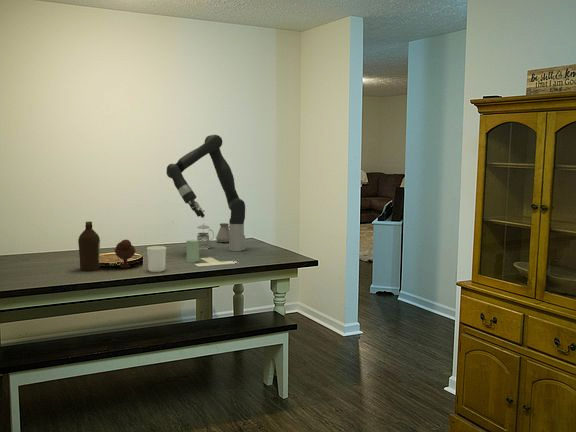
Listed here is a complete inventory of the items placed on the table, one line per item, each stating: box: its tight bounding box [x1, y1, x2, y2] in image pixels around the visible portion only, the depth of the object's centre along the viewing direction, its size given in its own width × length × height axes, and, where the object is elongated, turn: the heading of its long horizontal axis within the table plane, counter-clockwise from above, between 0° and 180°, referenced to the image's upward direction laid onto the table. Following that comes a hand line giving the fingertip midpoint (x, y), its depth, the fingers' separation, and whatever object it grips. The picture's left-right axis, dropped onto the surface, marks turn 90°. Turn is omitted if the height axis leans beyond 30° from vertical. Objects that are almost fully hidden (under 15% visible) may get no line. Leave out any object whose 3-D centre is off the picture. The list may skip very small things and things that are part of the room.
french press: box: [196, 209, 214, 250], centre depth 364 cm, size 10×12×25 cm
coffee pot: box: [215, 222, 229, 243], centre depth 386 cm, size 21×12×15 cm, turn 31°
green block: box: [186, 239, 200, 263], centre depth 321 cm, size 5×5×12 cm
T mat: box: [194, 257, 238, 267], centre depth 322 cm, size 22×24×1 cm
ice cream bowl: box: [114, 239, 136, 269], centre depth 302 cm, size 11×11×15 cm
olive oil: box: [77, 221, 101, 272], centre depth 294 cm, size 11×11×25 cm
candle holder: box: [146, 245, 167, 273], centre depth 295 cm, size 10×10×12 cm
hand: (201, 216), depth 333 cm, fingers open, 8 cm apart
